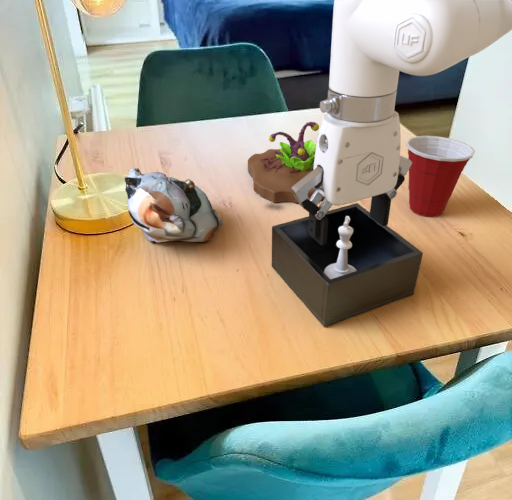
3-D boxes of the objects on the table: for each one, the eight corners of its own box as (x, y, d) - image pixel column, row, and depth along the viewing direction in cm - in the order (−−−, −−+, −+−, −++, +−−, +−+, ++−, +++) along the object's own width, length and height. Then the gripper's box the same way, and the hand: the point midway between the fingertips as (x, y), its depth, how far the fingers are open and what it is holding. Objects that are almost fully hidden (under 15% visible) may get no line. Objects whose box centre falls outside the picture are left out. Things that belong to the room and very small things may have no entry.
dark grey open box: (414, 294, 70) (423, 252, 66) (324, 327, 65) (328, 284, 61) (352, 241, 81) (357, 202, 77) (271, 266, 75) (271, 226, 71)
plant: (364, 199, 92) (372, 141, 85) (257, 207, 89) (257, 148, 83) (335, 153, 108) (340, 101, 101) (244, 159, 106) (243, 107, 99)
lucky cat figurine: (235, 235, 82) (213, 187, 70) (174, 278, 81) (141, 237, 68) (189, 178, 89) (162, 126, 77) (132, 217, 88) (95, 170, 75)
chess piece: (318, 282, 71) (323, 221, 66) (329, 263, 75) (335, 204, 69) (352, 291, 70) (360, 230, 64) (362, 271, 73) (370, 212, 67)
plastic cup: (468, 205, 90) (486, 142, 83) (444, 231, 83) (460, 164, 76) (411, 187, 95) (423, 126, 88) (384, 210, 88) (394, 146, 82)
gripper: (313, 127, 52) (307, 262, 62) (442, 100, 58) (418, 227, 68) (278, 106, 57) (278, 233, 67) (399, 83, 64) (383, 203, 73)
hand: (348, 230), depth 67 cm, fingers open, 9 cm apart
